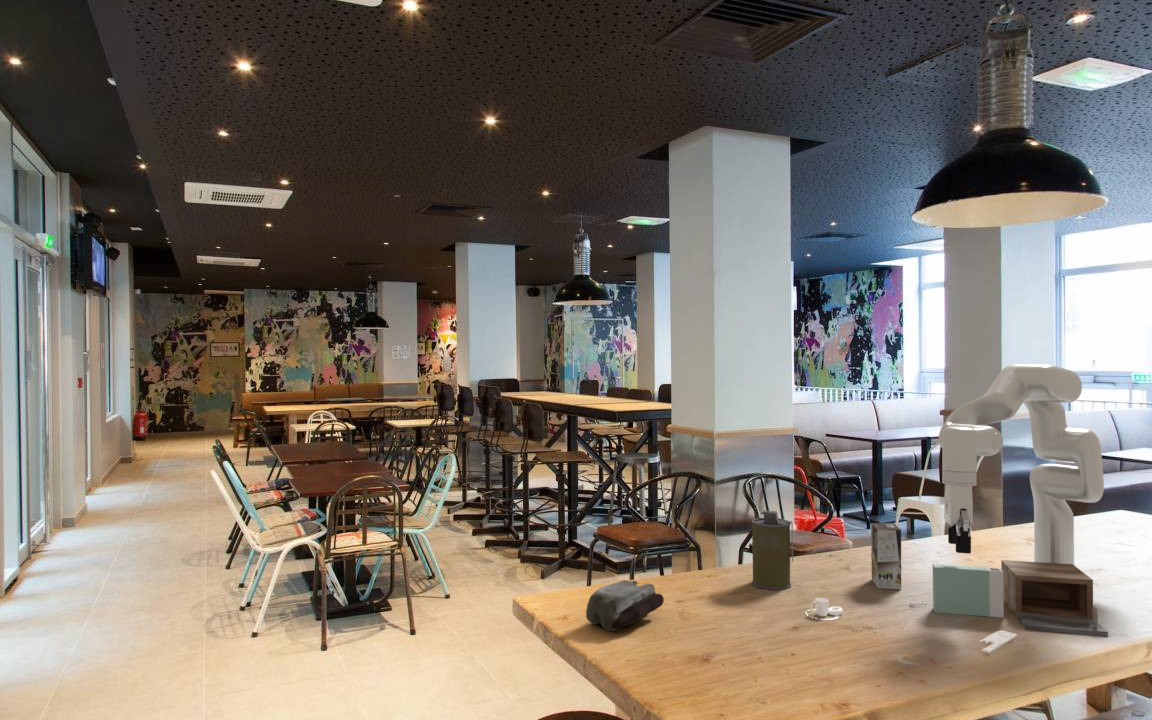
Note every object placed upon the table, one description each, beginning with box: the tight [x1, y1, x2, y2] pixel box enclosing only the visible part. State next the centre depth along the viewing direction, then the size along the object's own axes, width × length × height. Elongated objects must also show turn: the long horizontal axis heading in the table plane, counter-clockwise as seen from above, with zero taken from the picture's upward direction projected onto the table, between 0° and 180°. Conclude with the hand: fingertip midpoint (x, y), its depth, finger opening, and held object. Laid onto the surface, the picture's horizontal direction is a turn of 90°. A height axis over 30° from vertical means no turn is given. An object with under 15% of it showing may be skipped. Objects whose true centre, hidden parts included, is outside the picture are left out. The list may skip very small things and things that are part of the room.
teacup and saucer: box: [804, 597, 844, 621], centre depth 185 cm, size 9×8×4 cm
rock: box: [585, 579, 665, 632], centre depth 181 cm, size 20×12×8 cm, turn 143°
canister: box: [751, 510, 794, 591], centre depth 210 cm, size 11×10×20 cm
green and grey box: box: [932, 563, 1005, 619], centre depth 186 cm, size 3×15×11 cm, turn 73°
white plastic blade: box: [978, 629, 1018, 654], centre depth 167 cm, size 5×15×1 cm, turn 130°
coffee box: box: [870, 522, 902, 590], centre depth 210 cm, size 9×6×16 cm
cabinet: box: [1000, 559, 1109, 637], centre depth 183 cm, size 23×16×10 cm
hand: (959, 548), depth 186 cm, fingers open, 9 cm apart
